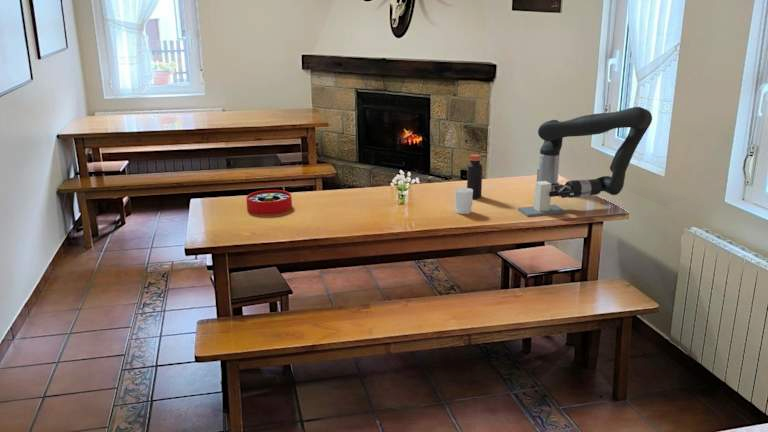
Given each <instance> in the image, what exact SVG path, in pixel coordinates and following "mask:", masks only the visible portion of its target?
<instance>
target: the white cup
mask: <svg viewBox="0 0 768 432" xmlns="http://www.w3.org/2000/svg"><path fill="white" fill-rule="evenodd" d="M454 205H455V213H456V214H460V215H468V214H470V213H472V206H473V190H472V189H470V188H467V187H458V188H455V189H454Z"/></svg>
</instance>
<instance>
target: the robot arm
mask: <svg viewBox="0 0 768 432" xmlns="http://www.w3.org/2000/svg"><path fill="white" fill-rule="evenodd" d="M652 120H653V115H652V113H651V112H650V110H648V109H645V108H643V107H640V106H633V107H630V108H626V109H621V110H618V111H612V112H603V113H592V114H586V115H583V116H578V117H575V118H571V119H568V120H564V121H559V120H556V119H552V120H548V121H545V122H543V123H542V124H541V125H540V126H539V127H538V130H537V134H538V136H539V138H540V139H541V140H543V144H542V146H541V147H540V149H539V163H538V168H537V172H536V182H540V181H547V182H549V183H551V192H549V196H550V197H551V198H552V197H558V198H560V197H561V198H562V199H563V198H565V199H566V198H569V199H572V198H583V197H587V196H598V195H599V194H600V193H601V192H605V193H607V194H609V195H611V196H617V195H618V194H620V193H621V192H622V190H623V188H624V185H625V179H626V172H627V169H628V167H629V165H630V162H631V161H632V158H633V155H634V154H635V152H636V150H637V148H638V145H639V144H640V142H641V140H642V139H643V137H644V135H645V134H646V132H647V130H648V129H649V127H650V126H651V124H652V122H653V121H652ZM621 128H625V129H626V128H629V131H628V134H627V136H626V137H625V139H624V141H623V142H622V144H621V145H620V146H619V148H618V149H617V150H616V152H615V155H614V156H613V158H612V162H611V163H610V166H609V171H611V174H612V175H611V176H609V175H607V176H606V175H605V176H600V177H597V178H595V179H594V178H593V179H592V178H591V179H575V180H568V181H566V182H565V184H560V183H559V171H560V170H559V169H560V167H559V166H560V155H561V150H562V147H563V138H568V137H585V136H594V135H595V136H596V135H601V134H603V133H607V132H609V131H611V130H614V129H621Z"/></svg>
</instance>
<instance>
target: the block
mask: <svg viewBox="0 0 768 432" xmlns="http://www.w3.org/2000/svg"><path fill="white" fill-rule="evenodd" d="M549 192H551V183H549V182H547V181H540V182H537V181H535V183H534V196H533V197H534V198H533V200H534V201H533V206H534V209H536V210H538V211H549V210H550V205H551V198H552V197H550V196H549Z"/></svg>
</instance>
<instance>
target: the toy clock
mask: <svg viewBox="0 0 768 432" xmlns="http://www.w3.org/2000/svg"><path fill="white" fill-rule="evenodd" d="M292 202H293V201H292V194H291V192H289V191H286V190H281V189H280V190H279V189H265V190H259V191H258V190H257V191H253V192H250V193H249V194H247V195H246V209H247V211H248V212H249V213H250V214H254V213H255V214H254V215H261V214H270V215H277V214H283V213H286V212H288V211H290V210H292V208H293V204H292Z"/></svg>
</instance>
